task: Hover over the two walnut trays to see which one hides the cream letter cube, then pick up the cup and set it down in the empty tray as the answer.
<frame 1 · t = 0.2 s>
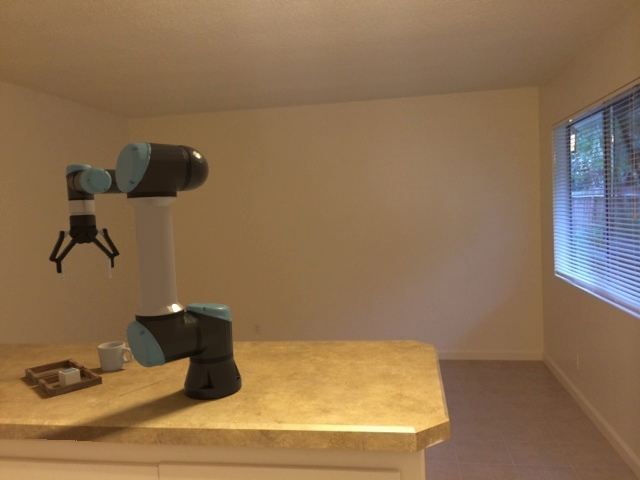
hand: (87, 281, 157), 27 cm above the counter, fingers open, 13 cm apart
tray A: (70, 386, 140), on the counter
cup: (117, 370, 153), on the counter
tray B: (55, 376, 150), on the counter
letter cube: (70, 384, 140), point 1 cm above the counter, touching tray A
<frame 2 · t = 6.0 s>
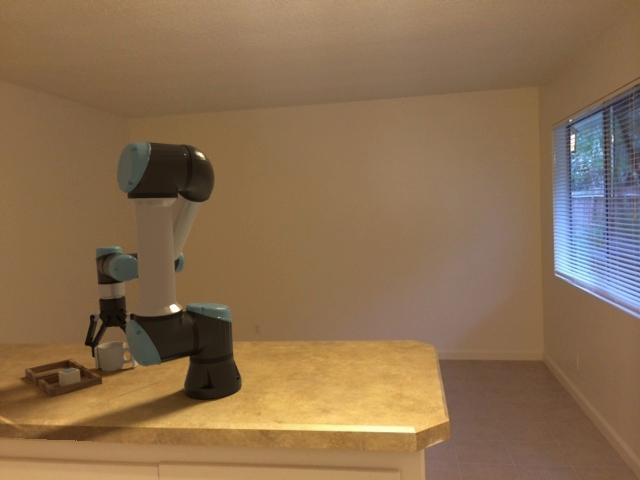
hand: (117, 366, 153), 1 cm above the counter, fingers closed on cup, 11 cm apart
cup: (117, 370, 153), on the counter, touching gripper
everything else where it was.
when the fingers open (4 cm above the counter, at t = 11.7 s): cup drops 2 cm, resting on tray B.
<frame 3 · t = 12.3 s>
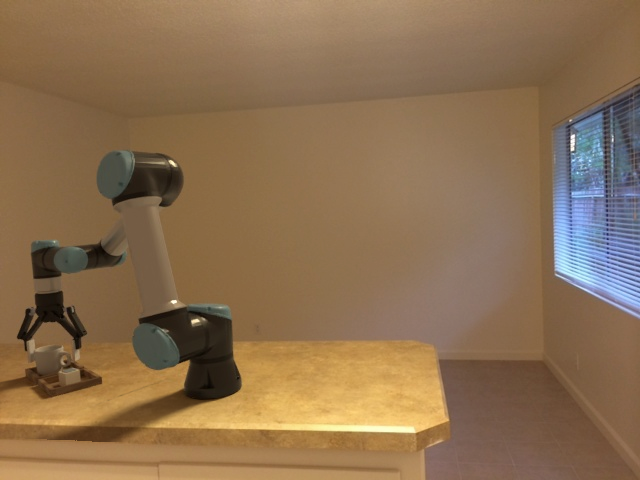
hand: (54, 360, 150), 5 cm above the counter, fingers open, 13 cm apart
cup: (55, 374, 150), resting on tray B
everything else where it was.
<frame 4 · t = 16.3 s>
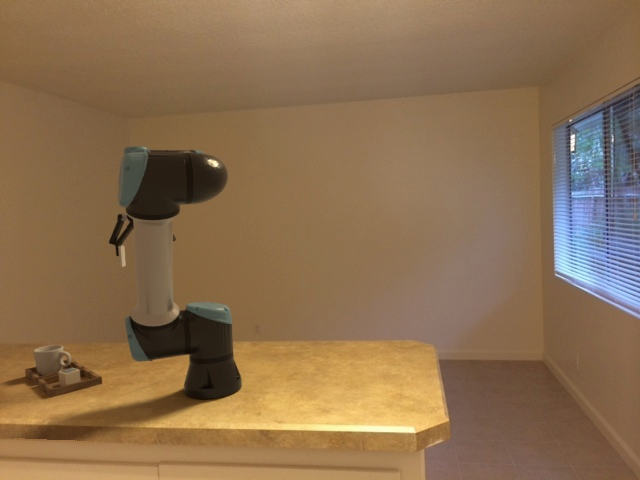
hand: (144, 265, 155), 32 cm above the counter, fingers open, 13 cm apart
nothing on the counter moved.
at the end: cup inside the target area on the tray B (0.1 cm from its centre), point 0.4 cm above the tray B's base; cup tilted 0°; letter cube moved 0.2 cm from its start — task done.
